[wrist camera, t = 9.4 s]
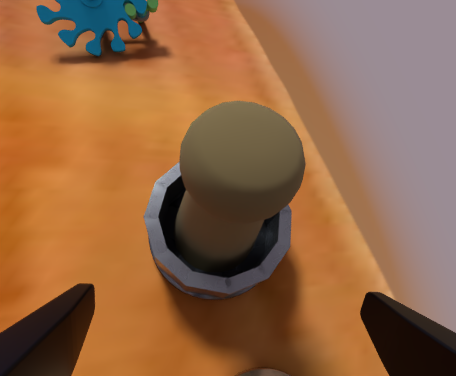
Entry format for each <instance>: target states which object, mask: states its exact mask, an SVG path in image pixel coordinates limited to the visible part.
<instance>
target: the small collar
mask: <svg viewBox="0 0 456 376" xmlns="http://www.w3.org/2000/svg"><path fill="white" fill-rule="evenodd" d="M235 376H291V375H289V374H287V373H284V372H282V371H280V370H276V369H272V368H264V367H261V368H252V369H248V370H245V371H243V372H240V373H238V374H236V375H235Z"/></svg>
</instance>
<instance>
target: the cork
mask: <svg viewBox="0 0 456 376" xmlns="http://www.w3.org/2000/svg"><path fill="white" fill-rule="evenodd" d="M179 163H180V172H181V176H182V179H183V183H184V186H185V188H186V191H185V194H184V197H183V199H182V202H181V205H180V208H179V211H178V213H177V216H176V219H175V222H174V232H173V236H174V240H175V244H176V248H177V249H178V251H179V252H180V254H181V255H182V257H183V258H184V259H185V260H186V261H187V262H188V263H190V264H191V265H192V266H193V267H195V268H198V269H200V270H203V271H206V272H224V271H227V270H230V269H233V268H235V267H236V266H238V265H239V264H240V263H242V262H243V261H244V260H245V259H246V258H247V256H248V255H249V253H250V252H251V250H252V248H253V245H254V243H255V241H256V238H257V236H258V234H259V231H260V229H261V227H262V224H263V222H264V220H265V219H267V218H270V217H272V216H274V215H275V214H276V213H278V212H279V211H281V210H282V209H283V208H285V207H286V206H287V205H288V204H289V203H290V202H291V200H292V199H293V197H294V196H295V194H296V193H297V191H298V190H299V188H300V186H301V183H302V180H303V175H304V170H305V158H304V152H303V147H302V142H301V140H300V138H299V136H298V134H297V133H296V131H295V129H294V128H293V127H292V125H291V124H290V123H289V122H288V121H287V120H286V119H285V118H284V117H283V116H281V115H280V114H278V113H276V112H275V111H273V110H272V109H270V108H268V107H265V106H262V105H259V104H257V103H253V102H244V101H233V102H225V103H221V104H219V105H216V106H214V107H212V108H209V109H208V110H206V111H205V112H204V113H202V114H201V115H200V116H199V117H198V118H197V119H196V120H195V121H193V122H192V123H191V125H190V127H189V129H188V131H187V133H186V135H185V137H184V139H183V141H182V144H181V150H180V161H179Z"/></svg>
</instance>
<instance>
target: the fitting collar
mask: <svg viewBox="0 0 456 376" xmlns="http://www.w3.org/2000/svg"><path fill="white" fill-rule="evenodd" d="M185 191H186V188H185V186H184V183H183V179H182V176H181V172H180V163H179V162H178V163H177V164H176V165H175V166H174V167H173V168H171V169H170V170H169V171H168V172H167V173H166V174H164V175H163V176H162V177H161V178H160V179H158V180H157V181H156V182H155V185H154V188H153V191H152V194H151V197H150V200H149V203H148V206H147V209H146V212H145V215H144V220H145V224H146V227H147V231H148V235H149V245H150V250H151V253H152V256H153V259H154V261H155V263H156V265H157V267H158V269H159V270H160V272H161V273H162V274H163V276H164V277H165V278H166V279H167V280H168V281H169V282H170V283H171V284H172V285H173V286H175V287H176V288H177V289H179V290H181V291H182V292H184V293H186V294H189V295H191V296H193V297H197V298H201V299H208V300H222V299H227V298H231V297H235V296H238V295H240V294H242V293H244V292H246V291H248V290H250V289H251V288H252V287H254V286H255V285H257V284H258V283H260V282H262V281H264V280H266V279H268V278H269V277H270V275H271V274H272V272H273V271H274V269H275V268H276V267H277V265H278V264H279V262H280V261H281V259H282V258H283V256H284V255H285V253H286V252H287V251H288V249H289V248H290V237H291V209H290V207H289V205H287V206H286V207H285V208H283V209H282V210H281V211H279V212H278V213H276V214H275V215H274V216H272V217H270V218H267V219H265V220H264V222H263V224H262V227H261V229H260V231H259V234H258V236H257V238H256V241H255V243H254V245H253V248H252V250H251V252H250V253H249V255H248V256H247V258H246V259H245V260H244V261H243V262H242V263H240V264H239V265H238V266H236V267H235V268H233V269H230V270H227V271H224V272H206V271H203V270H200V269H198V268H195V267H193V266H192V265H191V264H190V263H188V262H187V261H186V260H185V259H184V258H183V257H182V255H181V254H180V252H179V251H178V249H177V248H176V244H175V240H174V236H173V232H174V222H175V219H176V216H177V213H178V211H179V208H180V205H181V202H182V199H183V197H184V194H185Z"/></svg>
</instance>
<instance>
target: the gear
mask: <svg viewBox="0 0 456 376" xmlns="http://www.w3.org/2000/svg"><path fill="white" fill-rule="evenodd" d="M55 1H57V2H58V3H59V4H60V5H61V9H60V11H58V12H53V11H51V10H50V9H49V8H47V7H46V6H43V5H39V6H37V13H38V16H39V18H40V20H41V21H42V22H43V23H44V24H47V25H49V24H52V23H53V22H55V21H57V20H62V19H64V20H71V21H73V22H75V24H76V28H75V29H74V30H72V31H70V30H61V31H60V32H59V33H58V35H59V37H60V38H61V39H62V41H63V42H64V43H66V44H67V45H68V46H69V47H73V46H74V45H75V43H76V40H77V38H78V37H79V35H81V34H82V33H84V32H86V31H93V32H94V33H95V39H94V40H92V41H90V42H88V43H87V44H86V50H87V51H88V52H89V53H91V54H93V55H96V56H100V55H101V53H102V50H101V45H100V42H101V38H102V36H103V34H104V32H105V31H107V30H110V31H112V32H113V33H114V38H113V40H112V42H111V47H112V50H113V51H114V52H123V51H125V44H124V42H123V41H122V40H121V38H120V36H119V34H118V22H119V21H121V20H124V21H125V22H127V24H128V30H129V35H130V36H131V37H132V38H133V39H135V38H137V37H138V36H139V35H140V34H141V33H142V28H141V26H140V25H139V24H137V23H135V22H134V21H132V20H135V21H138V22H139V23H143V22H145V21H146V20H147V19H148V18H149V11H150V12H156V10H157V7H158V0H147V1H146V0H55Z"/></svg>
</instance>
